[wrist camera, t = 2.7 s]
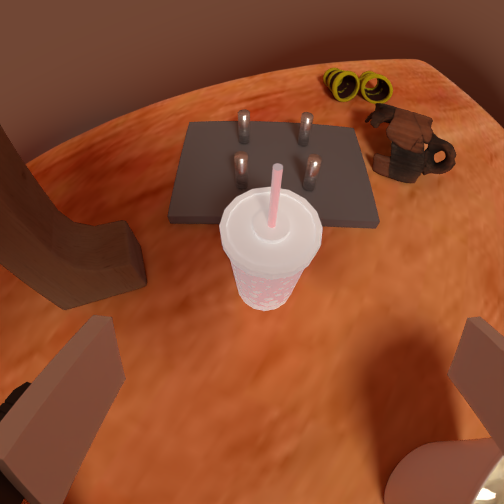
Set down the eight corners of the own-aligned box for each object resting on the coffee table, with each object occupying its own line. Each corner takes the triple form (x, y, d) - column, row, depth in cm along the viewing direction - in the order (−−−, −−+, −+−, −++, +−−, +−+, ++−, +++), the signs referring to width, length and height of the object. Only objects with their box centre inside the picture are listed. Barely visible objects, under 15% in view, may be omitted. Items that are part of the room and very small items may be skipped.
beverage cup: (285, 330, 24) (323, 243, 12) (216, 302, 25) (185, 194, 13) (310, 267, 27) (354, 148, 15) (246, 243, 28) (244, 114, 16)
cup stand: (170, 223, 29) (157, 188, 24) (190, 129, 36) (185, 95, 31) (375, 228, 29) (394, 196, 24) (351, 135, 36) (360, 102, 31)
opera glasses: (375, 94, 43) (380, 67, 39) (390, 107, 39) (396, 78, 35) (320, 90, 42) (322, 61, 38) (331, 104, 39) (335, 72, 35)
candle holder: (481, 465, 17) (572, 466, 6) (413, 545, 14) (490, 587, 3) (429, 412, 20) (530, 398, 10) (351, 498, 17) (424, 551, 7)
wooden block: (141, 244, 28) (59, 78, 12) (148, 287, 26) (44, 123, 10) (61, 270, 26) (-52, 144, 11) (63, 312, 24) (-75, 196, 9)
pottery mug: (346, 165, 34) (358, 97, 29) (370, 158, 40) (381, 103, 36) (443, 202, 28) (463, 129, 23) (449, 187, 34) (463, 130, 30)
